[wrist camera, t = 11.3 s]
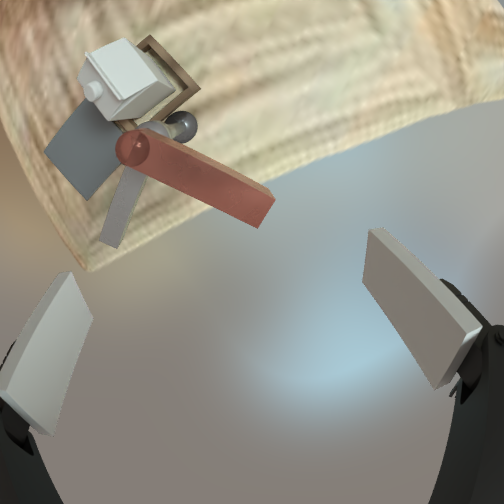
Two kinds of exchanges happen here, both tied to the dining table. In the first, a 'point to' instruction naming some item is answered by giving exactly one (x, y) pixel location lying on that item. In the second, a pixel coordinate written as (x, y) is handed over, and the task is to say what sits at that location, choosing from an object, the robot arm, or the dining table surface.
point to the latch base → (190, 125)
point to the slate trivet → (85, 149)
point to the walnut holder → (192, 86)
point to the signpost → (178, 178)
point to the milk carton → (123, 81)
